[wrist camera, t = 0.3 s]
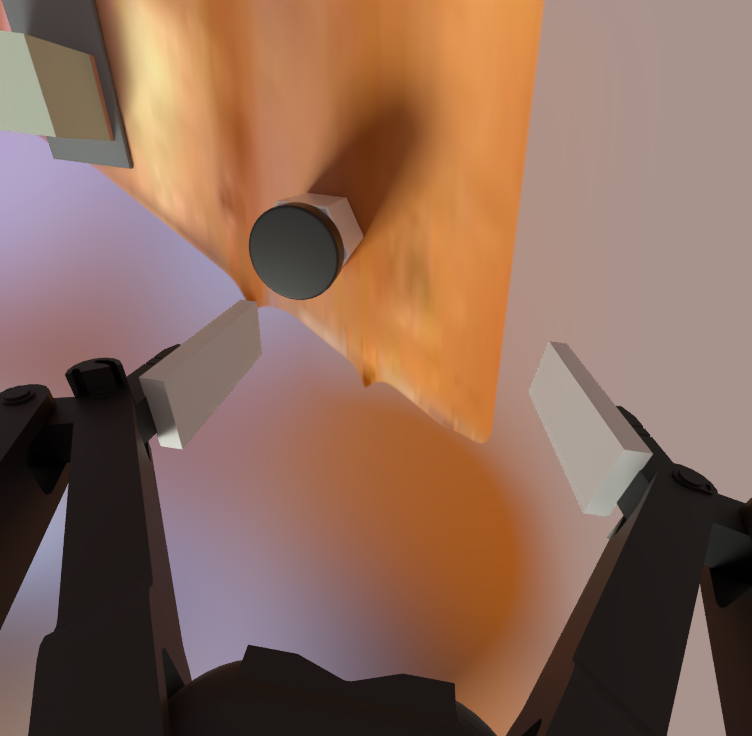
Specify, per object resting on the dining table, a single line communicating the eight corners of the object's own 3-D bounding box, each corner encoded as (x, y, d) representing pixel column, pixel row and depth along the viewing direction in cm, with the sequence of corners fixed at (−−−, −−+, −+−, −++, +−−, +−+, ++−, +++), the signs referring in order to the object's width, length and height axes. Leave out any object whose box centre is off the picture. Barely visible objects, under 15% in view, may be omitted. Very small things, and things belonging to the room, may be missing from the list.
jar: (276, 208, 40) (226, 225, 29) (338, 175, 37) (306, 181, 27) (314, 280, 43) (281, 316, 33) (373, 254, 41) (356, 285, 31)
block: (26, 48, 34) (-58, 24, 28) (93, 56, 34) (23, 33, 28) (53, 133, 38) (-16, 127, 32) (114, 140, 37) (56, 137, 32)
